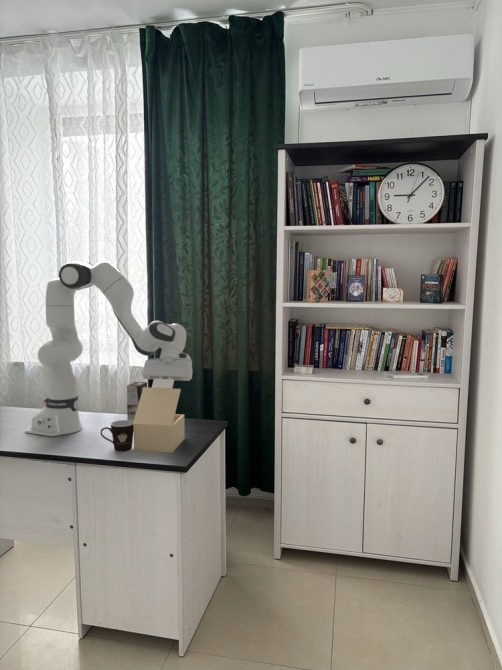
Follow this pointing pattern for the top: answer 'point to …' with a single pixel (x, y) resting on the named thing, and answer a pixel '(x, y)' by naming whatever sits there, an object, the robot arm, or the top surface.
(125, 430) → the coffee mug
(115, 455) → the top surface
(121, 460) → the top surface
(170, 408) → the flap
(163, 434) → the carton
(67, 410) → the robot arm
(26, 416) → the top surface
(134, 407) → the coffee box
